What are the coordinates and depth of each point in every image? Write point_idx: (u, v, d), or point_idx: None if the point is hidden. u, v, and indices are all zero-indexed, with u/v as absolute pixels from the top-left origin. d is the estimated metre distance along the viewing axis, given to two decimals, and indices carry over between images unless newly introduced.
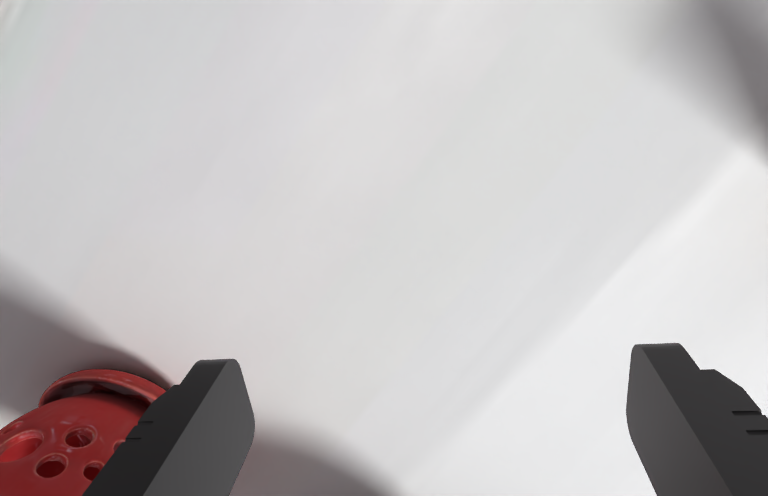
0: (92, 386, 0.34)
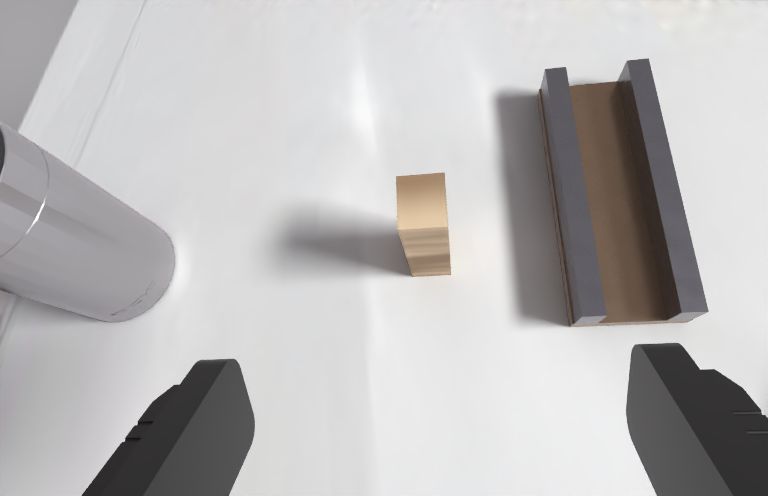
0: None
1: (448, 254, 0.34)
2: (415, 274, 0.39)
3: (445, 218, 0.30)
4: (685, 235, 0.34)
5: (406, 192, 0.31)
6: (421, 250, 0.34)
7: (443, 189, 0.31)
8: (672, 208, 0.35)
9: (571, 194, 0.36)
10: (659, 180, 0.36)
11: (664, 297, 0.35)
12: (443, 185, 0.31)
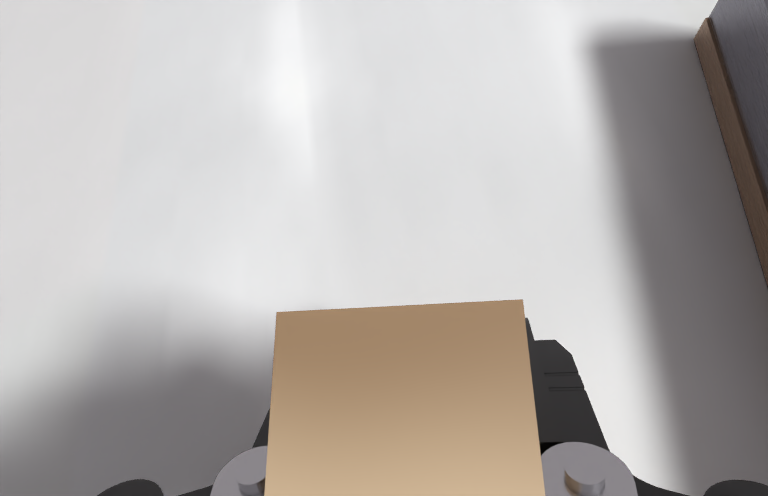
0: None
1: None
2: None
3: None
4: None
5: (323, 411, 0.06)
6: None
7: (524, 400, 0.05)
8: None
9: None
10: None
11: None
12: (521, 376, 0.06)
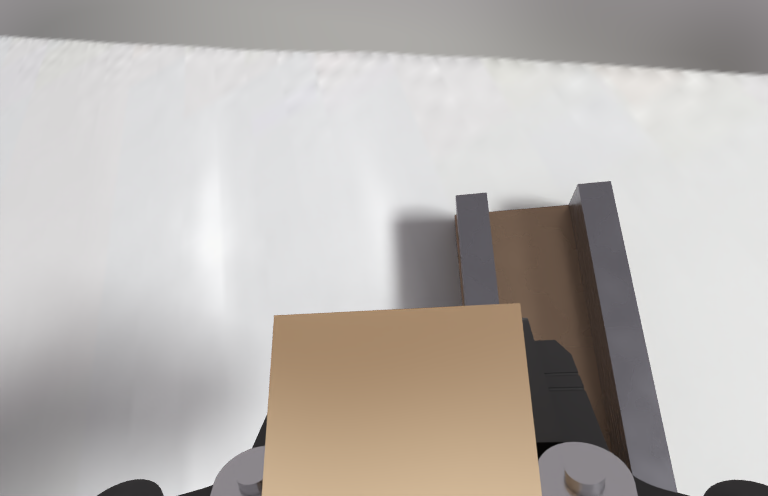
0: None
1: None
2: None
3: None
4: None
5: (321, 415, 0.06)
6: None
7: (521, 404, 0.05)
8: (649, 451, 0.21)
9: None
10: (627, 397, 0.22)
11: None
12: (519, 380, 0.06)
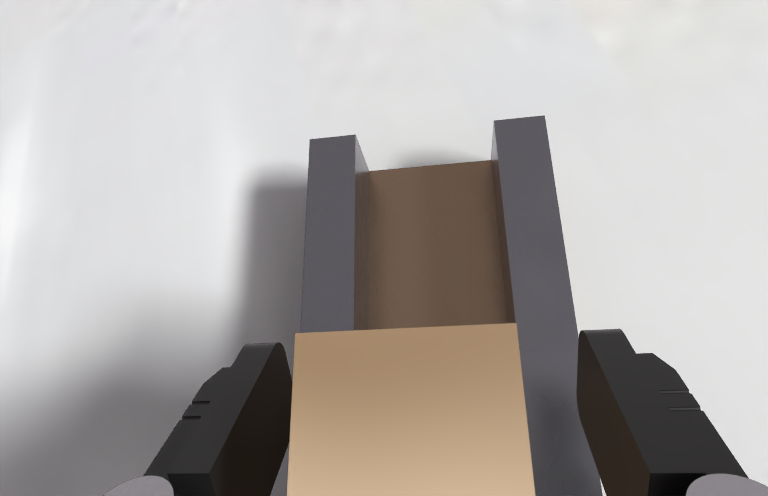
0: None
1: None
2: None
3: None
4: None
5: (338, 423, 0.06)
6: None
7: (516, 413, 0.06)
8: None
9: None
10: (548, 472, 0.12)
11: None
12: (515, 392, 0.06)
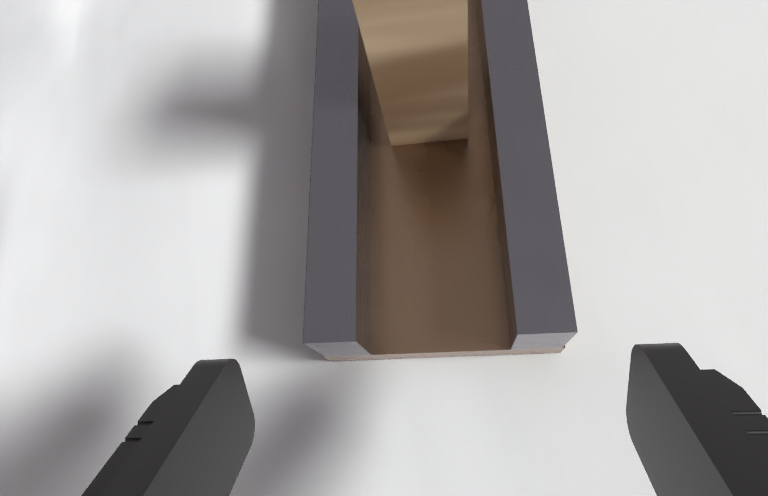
0: None
1: (465, 46, 0.15)
2: (396, 138, 0.19)
3: None
4: (541, 165, 0.16)
5: None
6: (400, 22, 0.14)
7: None
8: (520, 112, 0.16)
9: (329, 94, 0.18)
10: (499, 59, 0.17)
11: (507, 300, 0.16)
12: None
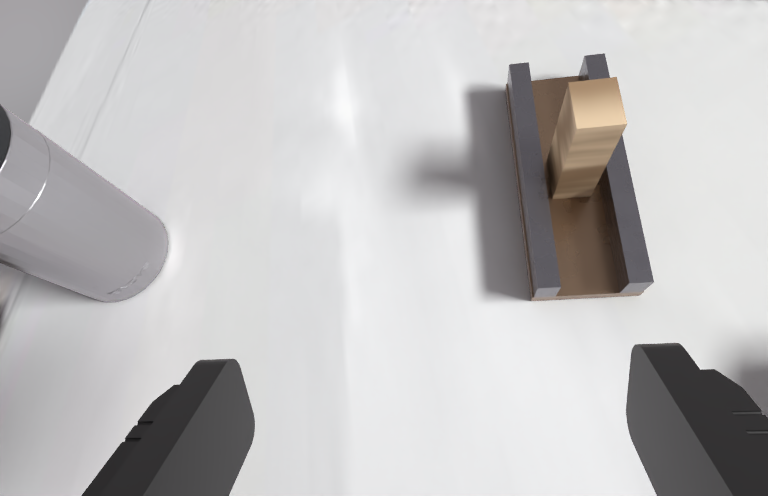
0: None
1: (605, 165, 0.36)
2: (557, 196, 0.40)
3: (623, 116, 0.31)
4: (634, 213, 0.37)
5: (581, 96, 0.32)
6: (583, 159, 0.35)
7: (617, 91, 0.32)
8: (623, 189, 0.38)
9: (531, 178, 0.39)
10: (611, 163, 0.38)
11: (617, 271, 0.37)
12: (617, 88, 0.32)
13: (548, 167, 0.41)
